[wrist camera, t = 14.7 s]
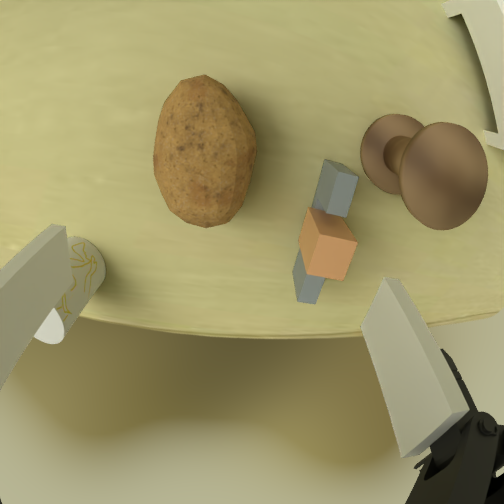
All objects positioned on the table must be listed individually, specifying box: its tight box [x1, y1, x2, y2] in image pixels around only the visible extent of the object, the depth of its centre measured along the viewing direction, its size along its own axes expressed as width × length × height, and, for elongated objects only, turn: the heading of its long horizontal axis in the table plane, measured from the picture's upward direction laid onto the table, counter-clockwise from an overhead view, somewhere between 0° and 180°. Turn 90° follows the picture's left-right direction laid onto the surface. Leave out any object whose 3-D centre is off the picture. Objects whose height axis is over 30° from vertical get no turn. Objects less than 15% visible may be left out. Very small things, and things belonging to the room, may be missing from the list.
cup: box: [34, 237, 106, 344], centre depth 32 cm, size 8×8×12 cm
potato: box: [153, 75, 257, 228], centre depth 27 cm, size 10×14×8 cm
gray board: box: [293, 159, 359, 304], centre depth 31 cm, size 14×2×6 cm, turn 169°
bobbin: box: [360, 114, 488, 230], centre depth 25 cm, size 9×9×11 cm
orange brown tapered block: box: [298, 207, 358, 281], centre depth 29 cm, size 4×4×7 cm
